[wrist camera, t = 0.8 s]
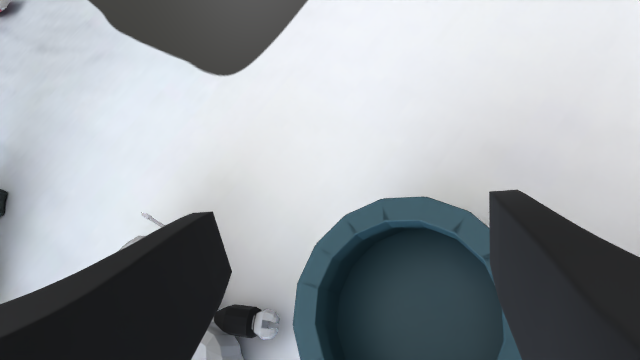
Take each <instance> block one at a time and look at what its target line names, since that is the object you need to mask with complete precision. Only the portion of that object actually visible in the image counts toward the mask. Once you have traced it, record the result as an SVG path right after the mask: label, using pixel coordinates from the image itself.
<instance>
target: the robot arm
mask: <svg viewBox="0 0 640 360" xmlns="http://www.w3.org/2000/svg"><path fill="white" fill-rule="evenodd" d="M489 207H490V266H491V271H492V275H493V279H494V283H495V287H496V291H497V295H498V299H499V302H500V304H501V307H502V310H503V312H504V315H505V317H506V320H507V322H508V325H509V328H510V330H511V333H512V335H513V338H514V340H515V343H516V345H517V348H518V350H519V353H520V355H521V358H522V360H640V257H638V256H636V255H633V254H631V253H629V252H627V251H625V250H623V249H621V248H619V247H617V246H615V245H613V244H611V243H609V242H607V241H605V240H603V239H601V238H599V237H598V236H596V235H594V234H592V233H590V232H588V231H587V230H585V229H583V228H581V227H579V226H578V225H576V224H574V223H572V222H571V221H569V220H567V219H566V218H564V217H562V216H561V215H559V214H557V213H556V212H554V211H552V210H551V209H549V208H548V207H546V206H544V205H543V204H541V203H539V202H538V201H536V200H535V199H533V198H531V197H530V196H528V195H526V194H525V193H523V192H521V191H519V190H507V191H493V192H489ZM231 273H232V271H231V267H230V264H229V261H228V258H227V255H226V252H225V249H224V245H223V242H222V239H221V236H220V233H219V230H218V227H217V223H216V220H215V217H214V214H213V212H200V213H192V214H189V215H186V216H184V217H182V218H180V219H178V220H175V221H174V222H172V223H170V224H168V225H166V226H164V227H162V228H160V229H158V230H156V231H155V232H153V233H151V234H149V235H147V236H146V237H144V238H142V239H140V240H138V241H136V242H135V243H133V244H131V245H129V246H127V247H126V248H124V249H122V250H120V251H118V252H116V253H114V254H112V255H110V256H108V257H106V258H105V259H103V260H101V261H99V262H97V263H95V264H93V265H91V266H89V267H87V268H85V269H83V270H81V271H79V272H77V273H75V274H73V275H71V276H69V277H66V278H64V279H62V280H60V281H57V282H55V283H53V284H51V285H48V286H46V287H44V288H41V289H39V290H37V291H34V292H32V293H29V294H27V295H24V296H22V297H19V298H16V299H14V300H11V301H8V302H6V303H3V304H0V360H191V359H192V357H193V355H194V353H195V352H196V350H197V348H198V346H199V344H200V342H201V340H202V339H203V337H204V335H205V333H206V331H207V329H208V327H209V325H210V323H211V321H212V320H213V318H214V316H215V314H216V312H217V310H218V308H219V306H220V304H221V301H222V299H223V296H224V293H225V291H226V288H227V285H228V282H229V279H230V276H231Z"/></svg>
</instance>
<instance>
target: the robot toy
mask: <svg viewBox="0 0 640 360" xmlns="http://www.w3.org/2000/svg"><path fill="white" fill-rule="evenodd" d="M141 214H142V216H143V217H145V218H146V219H149V220H151V221H152V222H154V223H156V224H157V225H159V226H160V227H164V226H165V225H163V224H162V223H160V222H158V221H157V220H155V219H154V218H152V216H150V215H149V214H147V213H142V212H141ZM144 237H146V236H138V237H136V238H134V239H132V240H131V241H129V242H128V243H126V244H125V245H124V246H123V247H122V248H121V249H120V250H122V249H124V248H126V247H127V246H129V245H131V244H133V243H135V242H136V241H138V240H140V239H142V238H144ZM120 250H119V251H120ZM269 321H271V322H274V323H279V317H278V314H277V313H276V312H274V311H272V310H270V309H265V310H263V311H262V310H260V309H259V308H257V307H252V306H244V305H236V304H234V305H231V306H228V307H226V308H223V309H221V310H219V311H217V312H216V314H215V316H214V318H213V320H212V321H211V323H210V325H209V327H208V329H207V331H206V333H205V335H204V337H203V339H202V340H201V342H200V344H199V346H198V348H197V350H196V352H195V353H194V355H193V357H192V359H191V360H244V358H243V357H242V355H241V349H240V344H239V343H238V341H237V339H236V338H235V336H241V337H247V338H253V337H255V336H257V335H258V336H259V337H260V338H261V339H262V340H266V339H272V338H273V337H274V336H275V335H276V334H277V333H278V328H277V329H276V328H273V329H271V328H268V325H269ZM234 335H235V336H234Z"/></svg>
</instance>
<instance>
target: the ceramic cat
mask: <svg viewBox="0 0 640 360" xmlns="http://www.w3.org/2000/svg"><path fill="white" fill-rule="evenodd" d="M6 196H7V192H6V191H4V190H1V189H0V216H2V215H4V212H5V209H4V204H5V199H6Z"/></svg>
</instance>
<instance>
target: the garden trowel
mask: <svg viewBox="0 0 640 360" xmlns="http://www.w3.org/2000/svg"><path fill="white" fill-rule="evenodd" d="M10 1H11V0H0V12H1V11H3V10H4V9H5V8H7V6H8V4H9V2H10Z"/></svg>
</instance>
